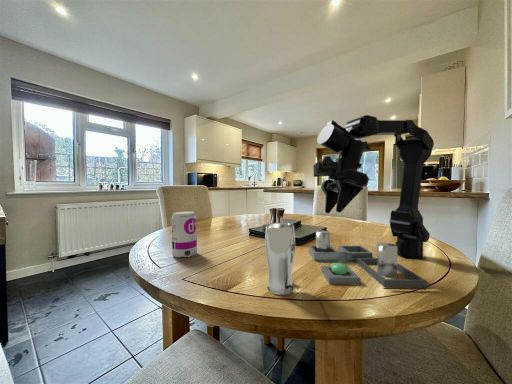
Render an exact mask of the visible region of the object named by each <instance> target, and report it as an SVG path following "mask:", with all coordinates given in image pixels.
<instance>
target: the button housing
mask: <svg viewBox="0 0 512 384" xmlns="http://www.w3.org/2000/svg"><path fill="white" fill-rule="evenodd" d="M346 266H347V275H333V274H332V265H321V273H322V275H323V277H324V278H325V280H326V282H327V283H328V284H329V285H360V283H361V278H360V276H359V275H358V274H356V272H355V271H353V269H352V268H351V267H350V266H349V265H346Z"/></svg>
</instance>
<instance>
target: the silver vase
mask: <svg viewBox="0 0 512 384" xmlns="http://www.w3.org/2000/svg"><path fill="white" fill-rule="evenodd" d="M264 233H265V236H264V249H265V256H266V257H265V258H266V261H267V267H268V281H267V286H266V287H267V290H268V291H269V292H270V293H271V294H273V295H275V296H288V295H289V294H292V293H293V291H294V282H293V278H292V272H293V265H294V259H295V253H296V251H295V250H296V236H295V225H294V224H292V223H289V222H270V223H267V224H266V225H265V232H264Z"/></svg>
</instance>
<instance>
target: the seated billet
mask: <svg viewBox="0 0 512 384" xmlns="http://www.w3.org/2000/svg"><path fill="white" fill-rule="evenodd" d="M315 246H316V252H330V246H331V232H330V231H328V230H316V231H315Z"/></svg>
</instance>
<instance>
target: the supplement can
mask: <svg viewBox="0 0 512 384" xmlns="http://www.w3.org/2000/svg"><path fill="white" fill-rule="evenodd" d="M197 225H198V224H197V215H196V213H195V211H192V210H191V211H189V210H188V211H183V210H182V211H175V212H173V214H172V216H171V245H172V247H171V249H172V250H171V253H172V256H174V257H175V258H176V257H188V258H191V257H190V256H192V257H194V256H195V255H196V254H197V252H198V238H197V237H198V235H197V234H198V233H197ZM193 255H194V256H193Z"/></svg>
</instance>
